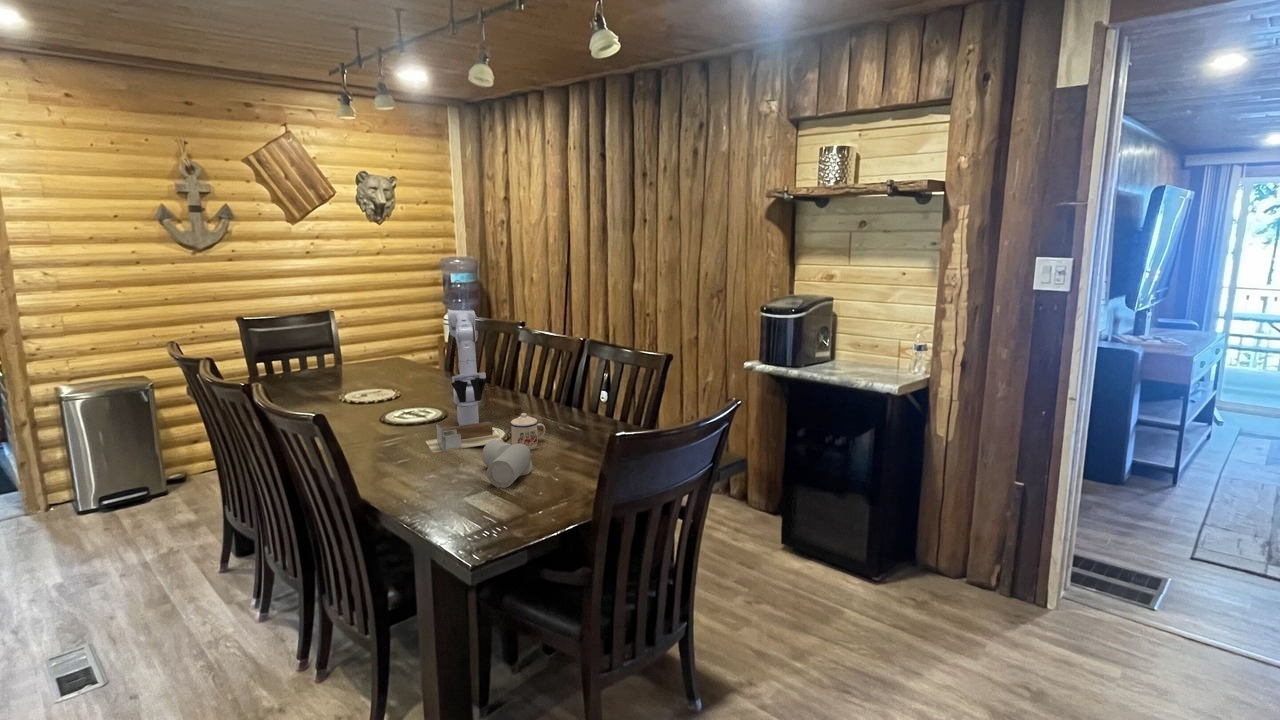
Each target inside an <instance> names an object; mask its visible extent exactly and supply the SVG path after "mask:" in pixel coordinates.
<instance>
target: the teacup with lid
mask: <svg viewBox="0 0 1280 720" xmlns="http://www.w3.org/2000/svg"><path fill="white" fill-rule="evenodd" d="M510 426H511V428H510V430H511V443H512V444H511V445H514V444H524V445H526V446H527V447H528V448H529V450H530V451H531V450H535V449H536V448H537V447H538V444H539V443H538V441H539V439H540V438H542V437H543V436H544V434H545V433H546V426H545V425H544V424H543V423H538V420H537V419H536V418H535V417H531V416H530V415H527V413H525V412H523V413H520V416H518V417H516V418H513V419H512V420H511V421H510ZM538 427H541V428H542V430H541V433H540V434H538Z"/></svg>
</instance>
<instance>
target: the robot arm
mask: <svg viewBox="0 0 1280 720" xmlns="http://www.w3.org/2000/svg"><path fill="white" fill-rule="evenodd" d="M447 322H448V325H447V326H448V329H449V330H448V332H449V335H450V336H452V337H453V338H455V342H456V348H457V355H458V370H459V374H457V375H454V376H451V382H452V383H451V386H452V390H453V392H452V394H453V395H452V396H453V403H454V405H457V407H456V414H457V417H456V419H457V423H458V426H461V425H468V424H475V423H480V421H479V420H480V419H479V403H481V402H482V398H483V392H484V389H485V386H486V384H487V379H486V378H487V376H486V374H487V373H486V372H478V370H477V367H478V366H477V358H476V357H477V355H476V341H477V333H476V332H477V331H476V325H477V324H476V322H477V321H476V312H475V311H474V310H473V309H472V310H456V311H450V310H449V311H448V312H447Z"/></svg>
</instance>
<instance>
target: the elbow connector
mask: <svg viewBox="0 0 1280 720" xmlns="http://www.w3.org/2000/svg"><path fill="white" fill-rule="evenodd" d="M531 455H532V454H531V450H529V448H528V447H527V446H526V445H524V444H514V445H512V444H511V443H509V442H508V443H507V442H505V441H504V442H501V441H498V440H492V441H490V442H488V443H487V444H486V445H484V447H483V449H482V453H481V459H482V462H483V464H484V465H486V466H488V467H487V470H486V475H487V479H488V481H489V483H491V484H492V485H493V486H494V487H497V488H503V489H505V488H508V487H510V486H511V485H512V484H514V482H515V481H516V480H517V479H518V478H519V477H520V476H526V475H528V474H530V472H531V471H532V469H533V461H532V459H531Z"/></svg>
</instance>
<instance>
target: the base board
mask: <svg viewBox="0 0 1280 720" xmlns="http://www.w3.org/2000/svg"><path fill="white" fill-rule="evenodd" d="M492 440H498V441H501V442H505V440H503V438H501V436H499V435H498V433H497V432H495V431H494V430H493V435H489V436H482V437H475V438H468V439H462V440H461V448H456V449H449V450H444V451H442V450H441V448H440V447H439V446H438V443H437V438H434V439H426V440H424V442H425V443H426V444H427V446H428V448H429V449H430V451H431V452H432V453H435V454H436V453H439V452H440V453H442V452H446V451H447V452H448V451H452V450H453V451H454V450H460V449H467V448H474V447H480V446H485V445H486V444H487V443H488V442H490V441H492Z"/></svg>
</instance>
